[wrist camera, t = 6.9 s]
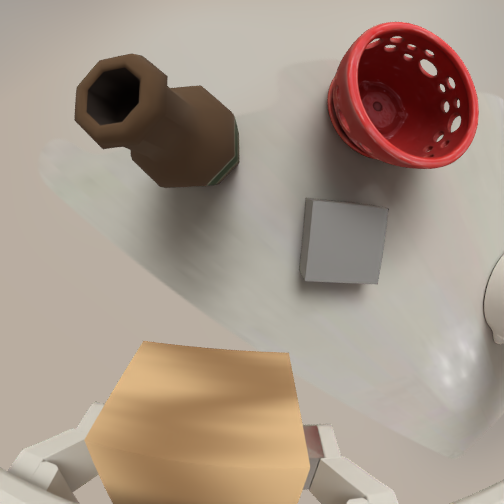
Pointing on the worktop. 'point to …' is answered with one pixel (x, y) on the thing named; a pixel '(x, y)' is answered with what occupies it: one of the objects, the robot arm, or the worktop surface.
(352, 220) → the block
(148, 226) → the worktop surface
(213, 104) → the beer bottle
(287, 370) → the oak cube
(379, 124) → the plant pot
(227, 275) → the worktop surface
